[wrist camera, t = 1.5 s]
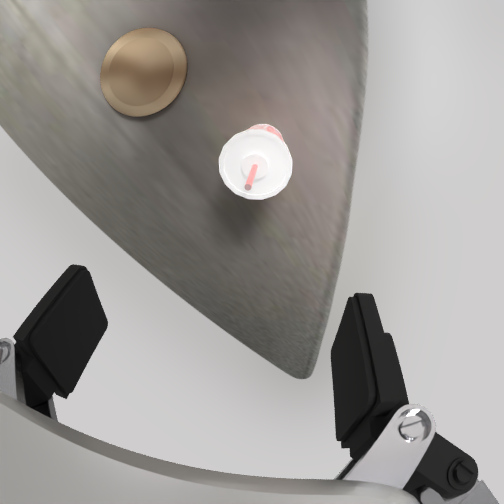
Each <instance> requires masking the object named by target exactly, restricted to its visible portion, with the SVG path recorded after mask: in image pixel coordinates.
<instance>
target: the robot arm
mask: <svg viewBox="0 0 504 504" xmlns="http://www.w3.org/2000/svg"><path fill="white" fill-rule="evenodd" d="M107 326H108V321H107V318H106V315H105V313H104V310H103V308H102V305H101V302H100V300H99V297H98V294H97V292H96V289H95V286H94V283H93V280H92V277H91V275H90V272H89V271H88V270H87V268H86V267H85V266H80V265H70V266H69V267H68V269H67V270H66V271H65V272H64V273H63V274H62V275H61V276H60V278H59V279H58V280H57V281H56V282H55V283H54V285H53V286H52V287H51V288H50V289H49V291H48V292H47V293H46V294H45V295H44V297H43V298H42V299H41V300H40V302H39V303H38V304H37V305H36V307H35V308H34V309H33V310H32V312H31V313H30V315H29V316H28V317H27V318H26V320H25V321H24V322H23V324H22V325H21V326H20V328H19V329H18V330H17V332H16V333H15V335H14V336H13V337H14V339H15V340H16V344H15V345H14V343H13V342H12V340H10V339H7V338H3V339H0V504H499V503H498V501H497V500H496V498H495V497H494V496H493V494H492V493H491V491H490V490H489V489H488V487H487V486H486V484H485V483H484V482H483V481H482V480H481V481H478V479H477V477H478V467H477V464H476V462H475V460H474V459H473V458H472V457H471V456H469V455H468V454H466V453H465V452H463V451H462V450H461V449H459V448H458V447H456V446H454V445H453V444H452V443H450V442H449V441H447V440H446V439H445V438H443V437H442V436H440V435H439V434H437V433H436V432H435V431H436V423H435V420H434V417H433V415H432V414H431V412H430V411H429V410H427V409H426V408H425V407H423V406H421V405H418V404H409V401H408V397H407V392H406V388H405V384H404V379H403V375H402V372H401V367H400V364H399V360H398V356H397V352H396V349H395V346H394V342H393V339H392V336H391V335H390V333H384V331H383V327H382V324H381V320H380V317H379V313H378V310H377V306H376V303H375V300H374V297H373V295H372V294H367V293H355V294H354V296H353V297H349V298H348V301H347V304H346V307H345V310H344V313H343V316H342V320H341V323H340V326H339V329H338V332H337V335H336V338H335V341H334V343H333V346H332V349H331V366H332V378H333V390H334V407H335V426H336V439H337V441H341V447H342V448H350V457H352V459H351V460H350V461H349V463H348V464H347V465H346V466H345V467H344V468H343V470H342V471H341V472H340V473H339V474H338V475H337V476H336V477H335V478H334V480H321V479H320V480H319V479H286V478H269V477H258V476H247V475H239V474H231V473H224V472H217V471H211V470H205V469H200V468H195V467H189V466H185V465H180V464H176V463H172V462H168V461H164V460H160V459H156V458H153V457H149V456H146V455H142V454H139V453H136V452H132V451H129V450H126V449H123V448H120V447H117V446H115V445H112V444H109V443H106V442H103V441H101V440H98V439H96V438H93V437H91V436H88V435H86V434H84V433H81V432H79V431H76V430H74V429H72V428H70V427H68V426H65V425H63V424H61V423H59V422H58V420H57V416H56V411H55V407H54V402H53V397H52V395H53V393H54V392H55V393H56V395H58V396H61V397H63V398H65V399H67V397H68V395H69V393H72V392H73V390H74V388H75V386H76V384H77V382H78V380H79V378H80V376H81V375H82V373H83V371H84V369H85V367H86V365H87V363H88V361H89V359H90V358H91V356H92V354H93V352H94V350H95V349H96V347H97V345H98V343H99V341H100V340H101V338H102V336H103V334H104V332H105V331H106V329H107Z"/></svg>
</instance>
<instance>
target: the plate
mask: <svg viewBox="0 0 504 504" xmlns="http://www.w3.org/2000/svg"><path fill="white" fill-rule="evenodd" d="M186 74H187V58H186V54H185V51H184V49H183V47H182V45H181V44H180V42H179V41H178V40H177V39H176V38H175V37H174V36H173V35H171V34H170V33H168V32H166V31H163V30H160V29H156V28H140V29H136V30H133V31H131V32H129V33H127V34H125V35H123V36H122V37H121V38H119V39H118V40H117V41H116V42H115V43H114V44H113V45H112V46H111V48H110V49H109V51H108V52H107V54H106V56H105V58H104V61H103V63H102V67H101V73H100V81H101V88H102V91H103V94H104V96H105V98H106V100H107V101H108V103H109V104H110V105H111V106H112V107H113V108H114V109H116V110H117V111H119V112H120V113H122V114H125V115H128V116H135V117H139V116H147V115H150V114H153V113H156V112H158V111H160V110H162V109H164V108H165V107H166V106H168V105H169V104H170V103H171V102H172V101H173V100H174V99H175V98H176V97H177V95H178V94H179V92H180V91H181V89H182V87H183V85H184V82H185V79H186Z"/></svg>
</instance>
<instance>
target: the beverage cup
mask: <svg viewBox="0 0 504 504" xmlns="http://www.w3.org/2000/svg"><path fill="white" fill-rule="evenodd" d="M219 172H220V174H221V177H222V179H223V181H224V183H225V185H226V186H227V187H229V188H230V189H231V190H232V191H233V192H234V193H235V194H237V195H239V196H242V197H244V198H247V199H259V200H263V199H266V198H269V197H272V196H275V195H276V194H277V193H279V192H280V191H281V190H282V189H283V188H284V187H286V185H287V183H288V181H289V179H290V177H291V175H292V157H291V155H290V152H289V150H288V147H287V145H286V144H285V143H284V140H283V138H282V135H281V133H280V132H279V131H278V130H277V129H276V128H275V127H273V126H270V125H268V124H257V125H255V126H252V127H250V128H249V129H247V130H245V131H243V132H240V133H238V134H235V135H234V136H233V137H232V138H231V139H230V140H229V141H228V142H227V143H226V144H225V145H224V146H223V149H222V152H221V154H220V157H219Z"/></svg>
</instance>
